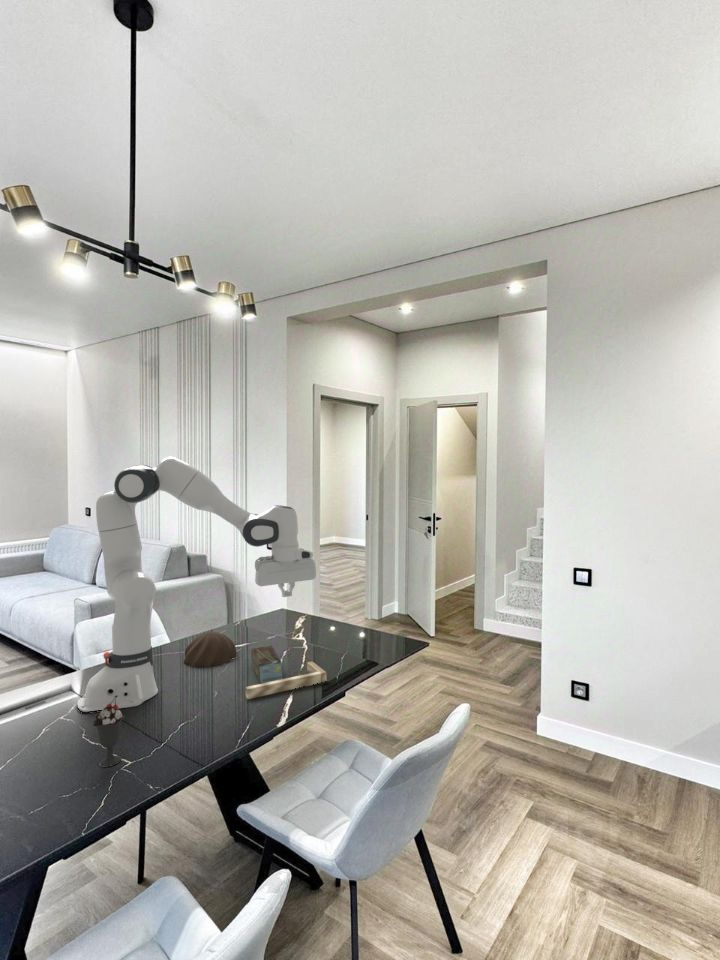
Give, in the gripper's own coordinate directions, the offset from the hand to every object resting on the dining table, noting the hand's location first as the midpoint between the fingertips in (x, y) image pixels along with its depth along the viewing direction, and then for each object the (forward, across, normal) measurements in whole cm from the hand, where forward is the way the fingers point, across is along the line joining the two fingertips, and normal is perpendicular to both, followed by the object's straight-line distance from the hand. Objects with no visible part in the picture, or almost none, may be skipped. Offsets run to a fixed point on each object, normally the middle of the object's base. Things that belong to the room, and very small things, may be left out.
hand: (286, 596), depth 172 cm
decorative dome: (+28, -17, +37) cm, 49 cm away
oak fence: (+27, -3, -2) cm, 28 cm away
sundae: (+27, -55, -26) cm, 66 cm away
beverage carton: (+28, -4, +11) cm, 30 cm away
